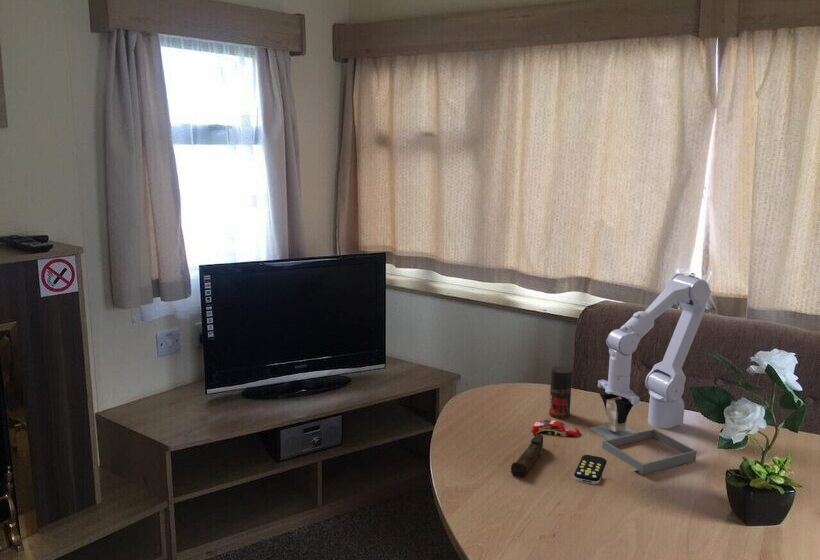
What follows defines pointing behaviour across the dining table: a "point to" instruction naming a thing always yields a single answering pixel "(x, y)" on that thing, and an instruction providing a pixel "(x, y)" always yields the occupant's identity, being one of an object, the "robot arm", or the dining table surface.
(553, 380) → the deodorant
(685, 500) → the dining table surface
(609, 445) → the bin
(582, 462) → the remote control
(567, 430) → the race car
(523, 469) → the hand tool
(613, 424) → the beige block
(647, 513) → the dining table surface
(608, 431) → the stud plate
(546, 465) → the dining table surface
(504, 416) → the dining table surface
